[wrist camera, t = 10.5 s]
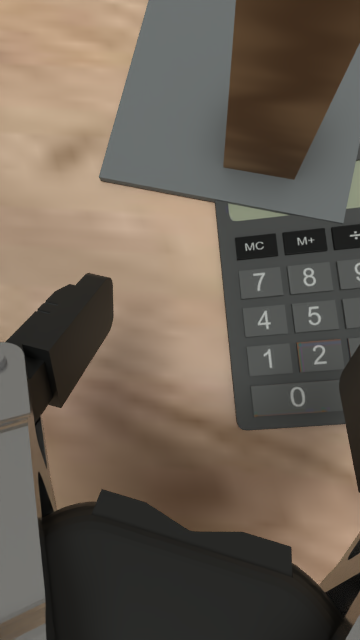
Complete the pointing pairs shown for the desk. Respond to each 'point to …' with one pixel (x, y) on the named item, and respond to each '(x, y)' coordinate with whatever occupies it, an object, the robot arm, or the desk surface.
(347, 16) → the block
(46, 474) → the robot arm
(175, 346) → the desk surface
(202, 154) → the mat
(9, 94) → the desk surface
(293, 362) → the calculator
